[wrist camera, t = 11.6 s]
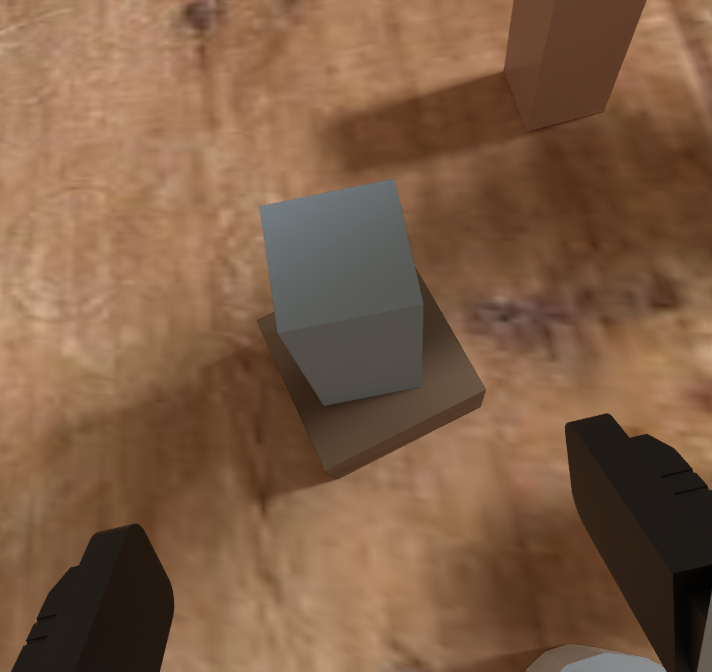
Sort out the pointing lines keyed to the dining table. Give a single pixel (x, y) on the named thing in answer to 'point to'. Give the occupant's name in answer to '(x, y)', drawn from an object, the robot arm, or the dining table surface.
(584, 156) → the dining table surface
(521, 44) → the terracotta pillar
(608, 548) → the robot arm
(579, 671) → the white short cylinder
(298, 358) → the blue pillar
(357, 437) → the walnut plinth
